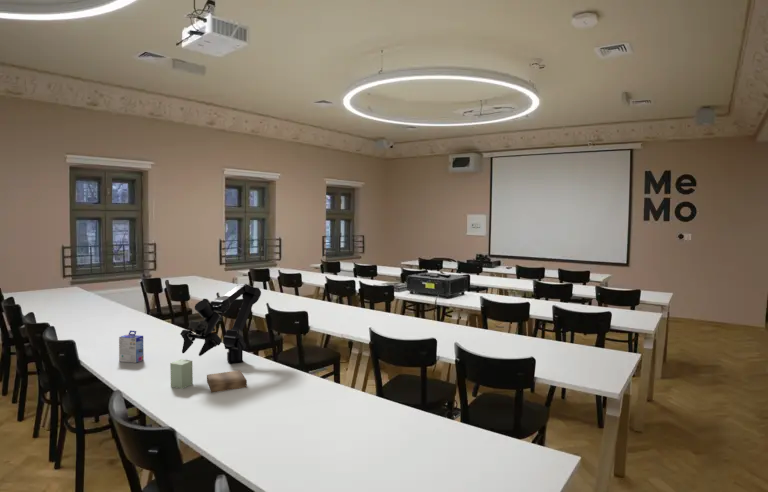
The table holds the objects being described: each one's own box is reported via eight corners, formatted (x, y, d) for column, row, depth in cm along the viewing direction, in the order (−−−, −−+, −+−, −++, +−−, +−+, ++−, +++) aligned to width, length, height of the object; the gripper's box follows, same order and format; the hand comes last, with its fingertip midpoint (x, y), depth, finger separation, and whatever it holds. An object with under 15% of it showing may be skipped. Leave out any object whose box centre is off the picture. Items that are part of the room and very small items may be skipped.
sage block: (181, 381, 205) (181, 359, 205) (192, 383, 203) (192, 360, 202) (170, 386, 200) (170, 363, 199) (181, 388, 198) (181, 365, 197)
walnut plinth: (240, 376, 212) (240, 370, 212) (246, 387, 200) (246, 380, 200) (206, 381, 206) (206, 374, 206) (211, 392, 194) (211, 385, 193)
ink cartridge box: (144, 359, 234) (143, 330, 233) (136, 363, 229) (135, 333, 228) (127, 358, 236) (126, 329, 235) (118, 361, 231) (117, 332, 230)
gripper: (183, 311, 213) (163, 342, 203) (216, 315, 206) (198, 347, 197) (196, 325, 221) (178, 355, 211) (229, 329, 214) (211, 360, 204)
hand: (190, 354), depth 206 cm, fingers open, 9 cm apart
